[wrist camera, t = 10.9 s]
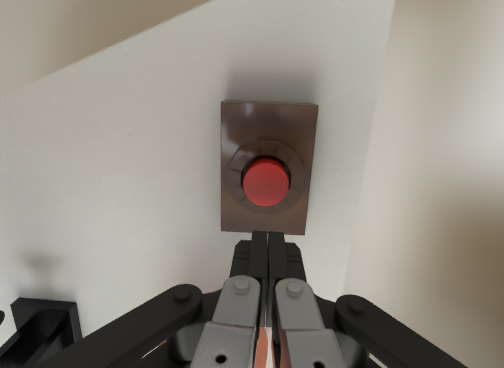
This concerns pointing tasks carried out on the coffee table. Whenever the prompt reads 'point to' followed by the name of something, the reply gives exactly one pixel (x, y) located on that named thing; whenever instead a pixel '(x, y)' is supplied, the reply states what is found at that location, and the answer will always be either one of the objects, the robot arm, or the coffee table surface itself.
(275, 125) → the button box
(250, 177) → the button
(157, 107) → the coffee table surface
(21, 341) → the bracket
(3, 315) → the lever
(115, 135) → the coffee table surface
